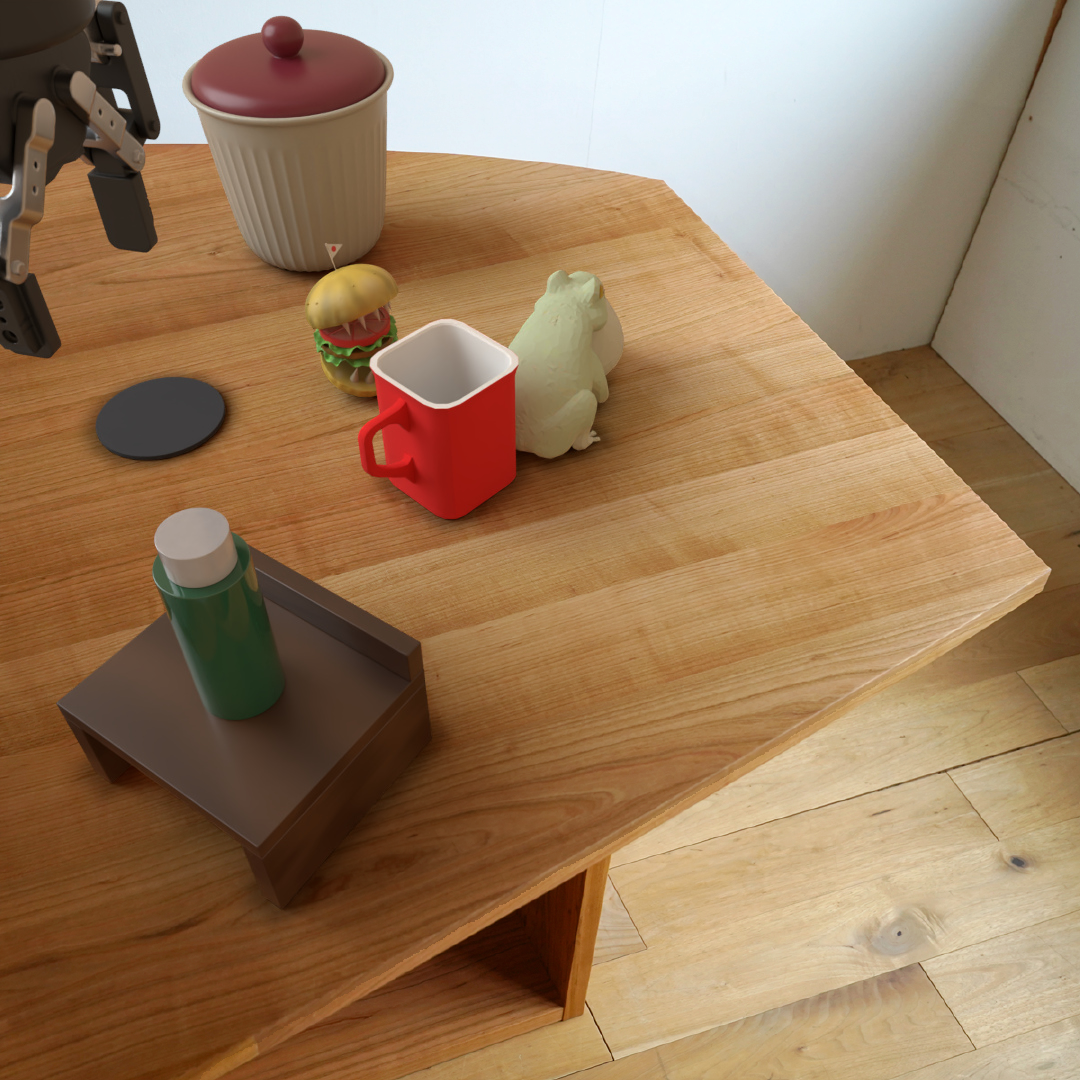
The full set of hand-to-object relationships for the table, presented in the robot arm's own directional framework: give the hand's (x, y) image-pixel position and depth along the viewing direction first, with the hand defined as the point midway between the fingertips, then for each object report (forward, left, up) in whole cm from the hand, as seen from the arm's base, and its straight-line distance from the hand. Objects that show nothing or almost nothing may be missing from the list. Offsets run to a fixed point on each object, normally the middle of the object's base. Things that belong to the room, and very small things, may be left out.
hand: (88, 296), depth 46 cm
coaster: (+15, +22, -28) cm, 38 cm away
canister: (+42, +30, -28) cm, 58 cm away
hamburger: (+28, +12, -28) cm, 41 cm away
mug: (+21, -1, -28) cm, 35 cm away
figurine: (+35, -3, -28) cm, 45 cm away
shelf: (-3, -7, -28) cm, 29 cm away
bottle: (-3, -7, -20) cm, 22 cm away
